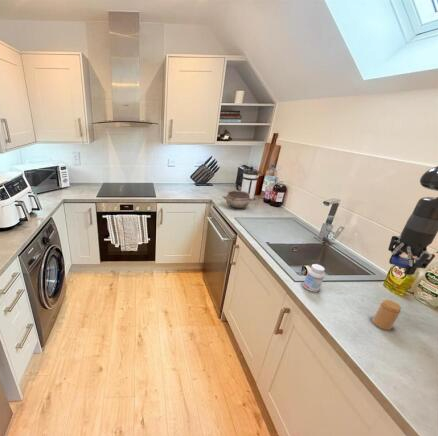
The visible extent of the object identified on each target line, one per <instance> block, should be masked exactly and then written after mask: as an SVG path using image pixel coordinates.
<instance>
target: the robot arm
mask: <svg viewBox="0 0 438 436" xmlns="http://www.w3.org/2000/svg"><path fill="white" fill-rule="evenodd" d="M419 184H420V185H421V187H423V188H424V189H427V190H431V191H436V192H438V165H436V166H434V167H432V168H430V169H428V170H426V171H425V172H424V173H423V174H422V175H421V177H420V179H419ZM437 235H438V196H437V197H434V196H422V197H420V198H419V199H418V200H417V202H416V205H415V207H414V209H413V211H412V213H411V214H410V216H409V217H408V218H407V220H406V223H405V225H404V226H403V229H402V231H401V233H400V234H399V235H392V236H391V239H390V242H389V246H388V251H389V252H390V253H391V256H390V258H389V259H388V260H389V262H388V263H389V264H390V265H393V264H392V263H391V260H392V258H393V257H394V256H399V257H402V255H403V254H406V255H407V259H409V265H408V266H407V268H406V269H404V271H403V274H404V275H406V276H412V275H414V274H416V273H415V272H417V269H426V268H427V267H428V266H429V265H430V264H431V263H432V261H433V260H434V259H435V258H436V255H435V254H434V253H430V252H428V247H429V246H430V245H431V244H433V241H434V239H436V236H437ZM414 262H415V263H414Z"/></svg>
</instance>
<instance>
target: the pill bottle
mask: <svg viewBox="0 0 438 436" xmlns="http://www.w3.org/2000/svg"><path fill="white" fill-rule="evenodd" d="M325 269H326V268H325V267H324V266H322V265H321V264H319V263H313V264H312V265H311V267H310V268H308V270H307V273H306V274H305V278H304V282H303V284H302V285H303V287H304V289H306V290H308V291H310V292H315V293H317V292H319V291H320V289H321V286H322V285H323V281H324V278H325Z"/></svg>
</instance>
